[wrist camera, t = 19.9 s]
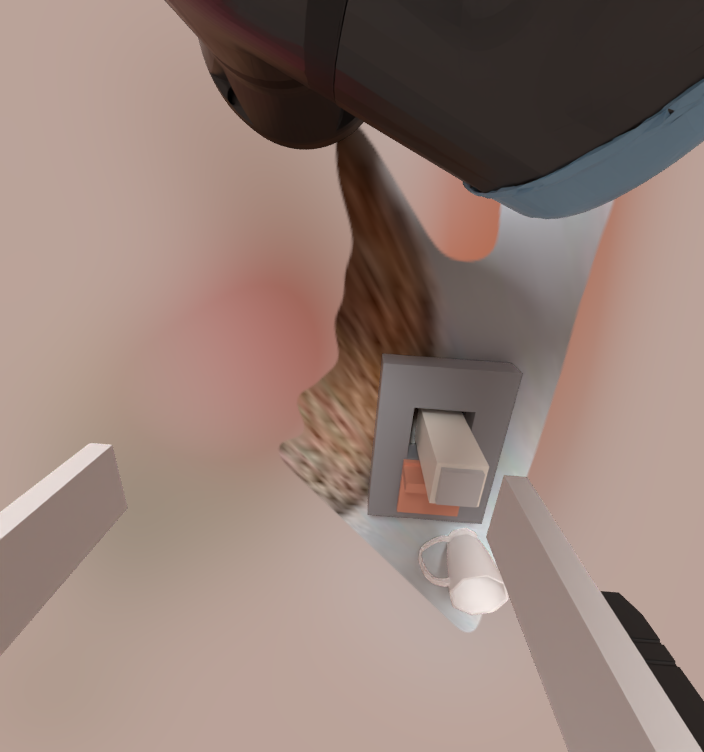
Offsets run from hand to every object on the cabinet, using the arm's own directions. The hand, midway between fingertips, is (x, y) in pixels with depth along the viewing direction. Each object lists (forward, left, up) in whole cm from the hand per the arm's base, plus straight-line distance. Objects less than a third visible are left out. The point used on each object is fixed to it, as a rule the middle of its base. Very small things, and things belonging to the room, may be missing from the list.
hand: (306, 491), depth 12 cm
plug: (+12, +11, -27) cm, 31 cm away
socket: (+14, +11, -27) cm, 32 cm away
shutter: (+19, +11, -24) cm, 32 cm away
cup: (+30, +16, -27) cm, 43 cm away
